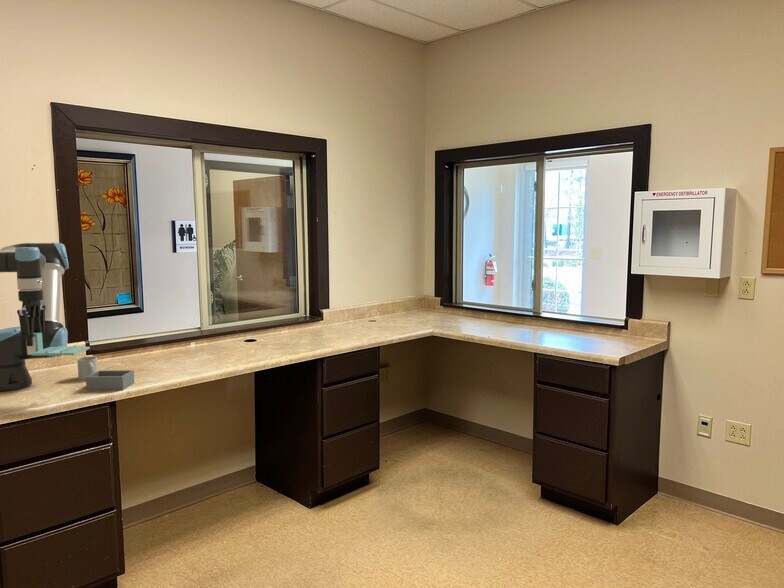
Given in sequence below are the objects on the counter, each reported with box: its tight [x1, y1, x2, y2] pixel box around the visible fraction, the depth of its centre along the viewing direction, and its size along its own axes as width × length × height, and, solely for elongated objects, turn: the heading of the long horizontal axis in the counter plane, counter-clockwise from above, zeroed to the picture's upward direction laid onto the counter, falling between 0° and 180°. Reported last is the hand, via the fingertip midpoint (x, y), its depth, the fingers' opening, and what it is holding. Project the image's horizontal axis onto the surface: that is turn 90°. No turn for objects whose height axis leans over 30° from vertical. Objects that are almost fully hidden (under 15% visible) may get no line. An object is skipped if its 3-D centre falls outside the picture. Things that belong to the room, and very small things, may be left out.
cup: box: [76, 356, 99, 381], centre depth 234 cm, size 7×10×9 cm
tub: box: [85, 369, 135, 391], centre depth 222 cm, size 14×10×6 cm
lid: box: [26, 333, 91, 356], centre depth 206 cm, size 19×11×7 cm, turn 91°
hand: (35, 353), depth 207 cm, fingers closed on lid, 3 cm apart
